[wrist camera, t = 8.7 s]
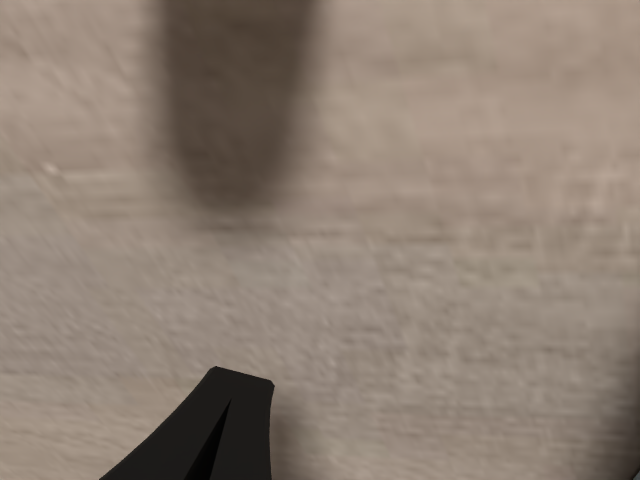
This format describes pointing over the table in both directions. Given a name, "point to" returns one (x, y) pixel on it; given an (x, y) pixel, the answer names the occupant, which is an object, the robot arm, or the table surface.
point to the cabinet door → (637, 476)
